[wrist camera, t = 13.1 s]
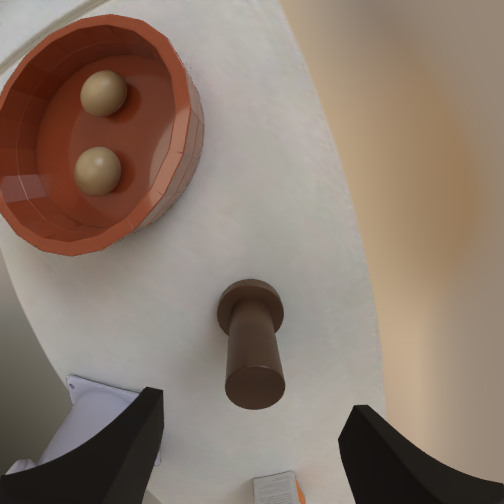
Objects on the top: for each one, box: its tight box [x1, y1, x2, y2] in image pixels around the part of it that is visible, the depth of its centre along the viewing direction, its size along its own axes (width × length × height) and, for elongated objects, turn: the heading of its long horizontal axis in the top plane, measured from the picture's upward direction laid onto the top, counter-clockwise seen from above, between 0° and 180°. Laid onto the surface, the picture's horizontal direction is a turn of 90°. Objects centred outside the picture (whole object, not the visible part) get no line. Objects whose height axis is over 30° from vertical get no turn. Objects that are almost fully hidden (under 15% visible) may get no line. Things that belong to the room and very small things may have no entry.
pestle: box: [217, 279, 285, 410], centre depth 15 cm, size 4×4×8 cm
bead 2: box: [74, 147, 121, 196], centre depth 15 cm, size 3×3×3 cm
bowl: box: [0, 14, 204, 256], centre depth 14 cm, size 12×12×5 cm
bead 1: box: [80, 70, 127, 117], centre depth 14 cm, size 3×3×3 cm
